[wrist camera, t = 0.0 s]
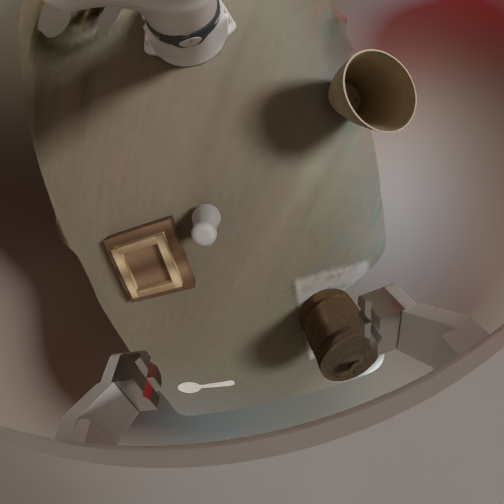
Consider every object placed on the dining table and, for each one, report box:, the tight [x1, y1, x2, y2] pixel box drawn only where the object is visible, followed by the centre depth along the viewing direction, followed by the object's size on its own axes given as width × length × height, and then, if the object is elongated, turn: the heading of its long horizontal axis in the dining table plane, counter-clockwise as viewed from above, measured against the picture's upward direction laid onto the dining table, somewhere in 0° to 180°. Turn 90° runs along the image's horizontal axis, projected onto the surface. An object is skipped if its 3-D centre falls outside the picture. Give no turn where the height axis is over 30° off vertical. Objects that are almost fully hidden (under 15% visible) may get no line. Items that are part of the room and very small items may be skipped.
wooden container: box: [300, 289, 378, 381], centre depth 60 cm, size 15×15×22 cm
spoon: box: [178, 380, 235, 393], centre depth 77 cm, size 5×18×1 cm, turn 98°
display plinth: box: [103, 216, 195, 303], centre depth 56 cm, size 16×16×5 cm
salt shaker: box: [191, 204, 221, 247], centre depth 50 cm, size 6×6×13 cm
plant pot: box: [328, 49, 417, 133], centre depth 42 cm, size 15×15×16 cm
